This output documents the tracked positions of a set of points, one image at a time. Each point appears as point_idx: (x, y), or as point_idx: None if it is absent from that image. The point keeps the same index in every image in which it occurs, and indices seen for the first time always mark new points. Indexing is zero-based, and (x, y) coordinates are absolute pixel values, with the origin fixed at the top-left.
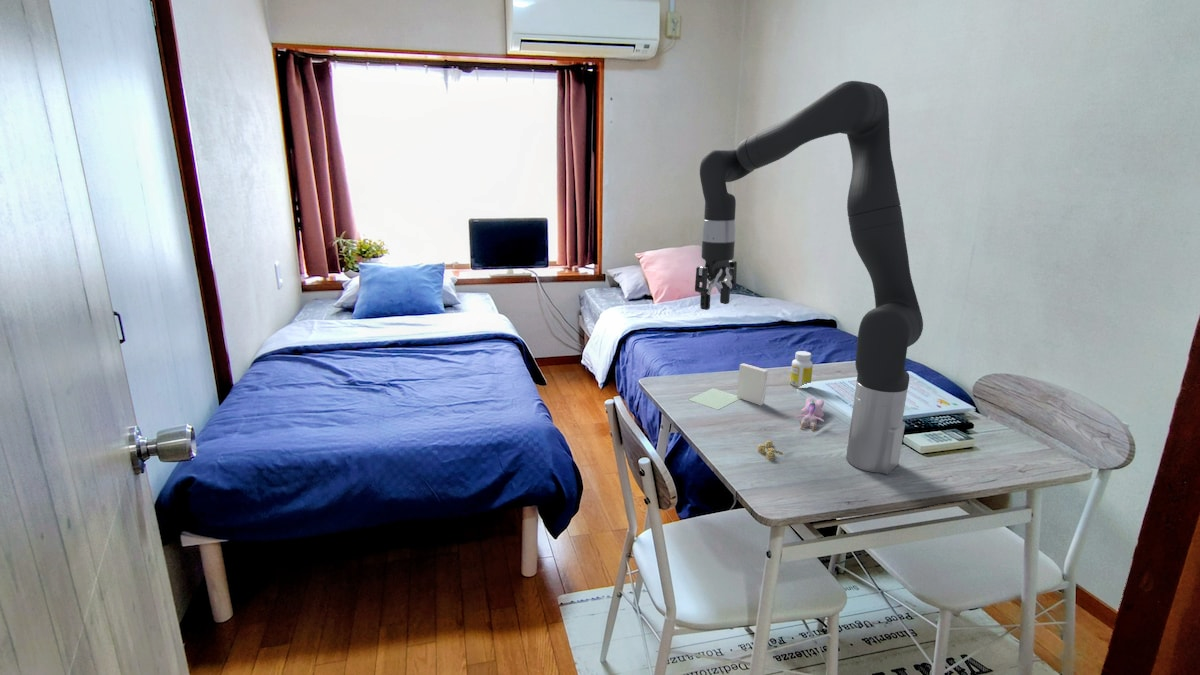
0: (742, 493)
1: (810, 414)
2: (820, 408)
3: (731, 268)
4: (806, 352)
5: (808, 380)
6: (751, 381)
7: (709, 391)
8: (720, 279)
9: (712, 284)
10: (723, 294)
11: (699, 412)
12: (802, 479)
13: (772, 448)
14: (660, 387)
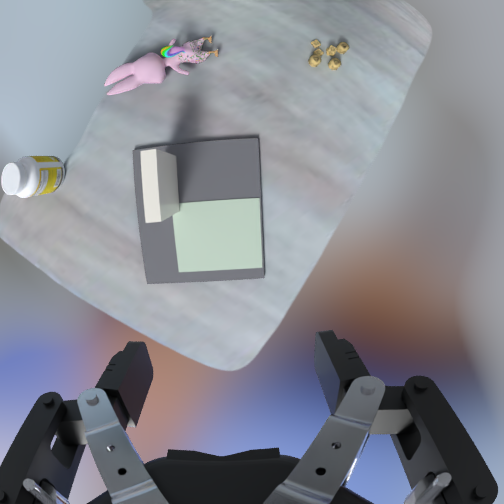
0: (426, 52)
1: (185, 48)
2: (145, 55)
3: (42, 491)
4: (4, 178)
5: (44, 156)
6: (167, 181)
7: (197, 265)
8: (219, 466)
9: (365, 423)
10: (138, 391)
11: (287, 219)
12: (352, 7)
13: (329, 48)
14: (246, 339)
